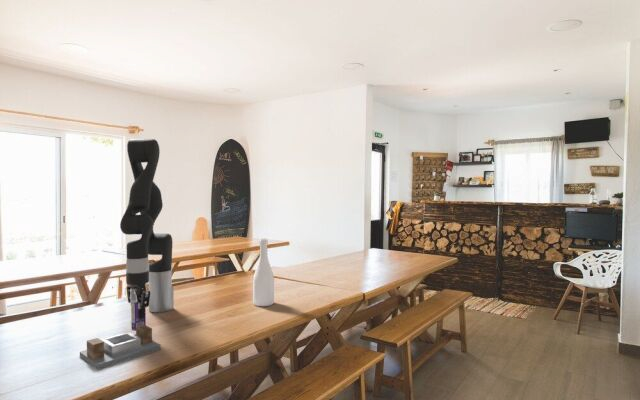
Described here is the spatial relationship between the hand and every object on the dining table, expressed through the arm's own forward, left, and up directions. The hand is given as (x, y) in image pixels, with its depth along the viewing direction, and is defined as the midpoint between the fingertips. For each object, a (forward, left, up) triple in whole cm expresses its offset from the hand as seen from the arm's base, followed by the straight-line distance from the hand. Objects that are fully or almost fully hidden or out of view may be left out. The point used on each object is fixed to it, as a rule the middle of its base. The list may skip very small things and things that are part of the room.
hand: (138, 316), depth 140 cm
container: (0, 0, -5) cm, 5 cm away
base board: (+11, +12, -6) cm, 18 cm away
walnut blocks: (+11, +12, -5) cm, 17 cm away
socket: (+11, +12, -5) cm, 17 cm away
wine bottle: (-55, +6, -7) cm, 55 cm away
